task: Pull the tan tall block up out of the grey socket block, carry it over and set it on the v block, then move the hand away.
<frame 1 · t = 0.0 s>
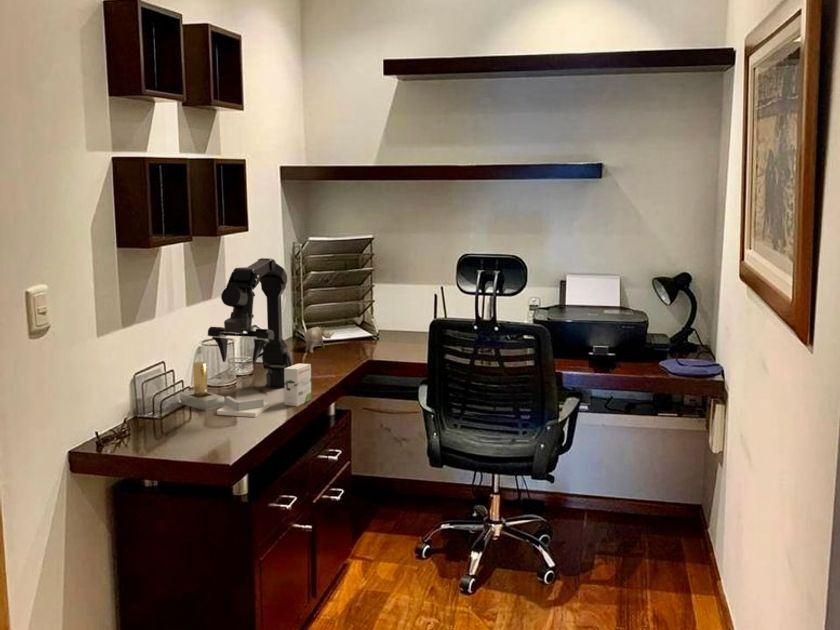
hand: (238, 362, 247), 15 cm above the table, tool pointing down, fingers open, 9 cm apart
elephant figurine: (316, 349, 347), on the table
v block: (243, 410, 252), on the table
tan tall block: (200, 384, 257), in the grey socket block
ink box: (298, 403, 262), on the table
grey socket block: (201, 404, 258), on the table
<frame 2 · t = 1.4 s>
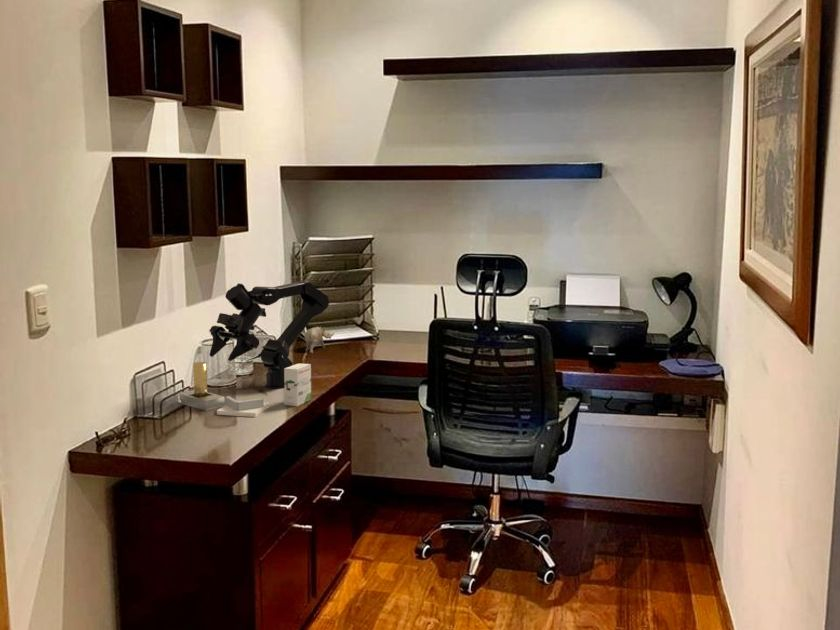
hand: (219, 358, 262), 13 cm above the table, tool tilted 45°, fingers open, 9 cm apart
nothing on the table moved.
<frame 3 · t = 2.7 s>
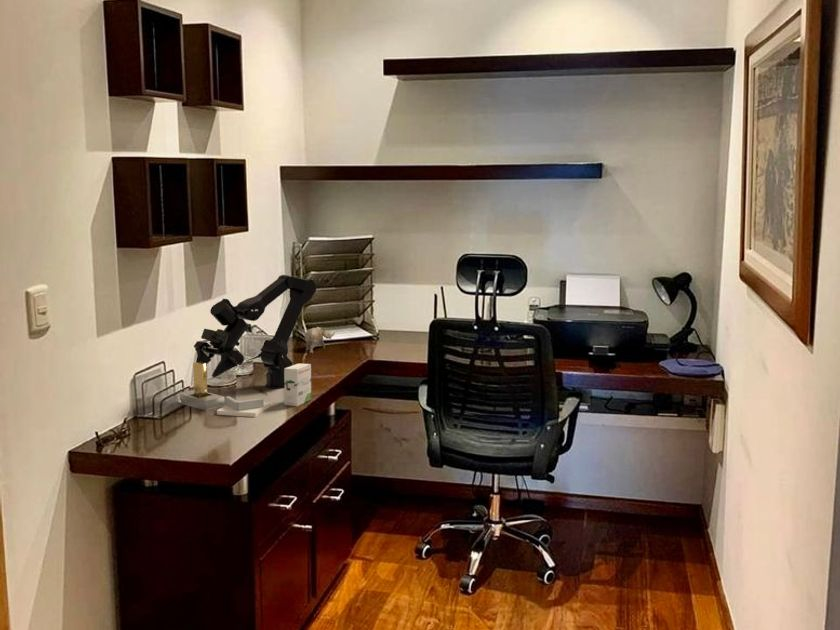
hand: (203, 374, 258), 9 cm above the table, tool tilted 45°, fingers open, 9 cm apart
nothing on the table moved.
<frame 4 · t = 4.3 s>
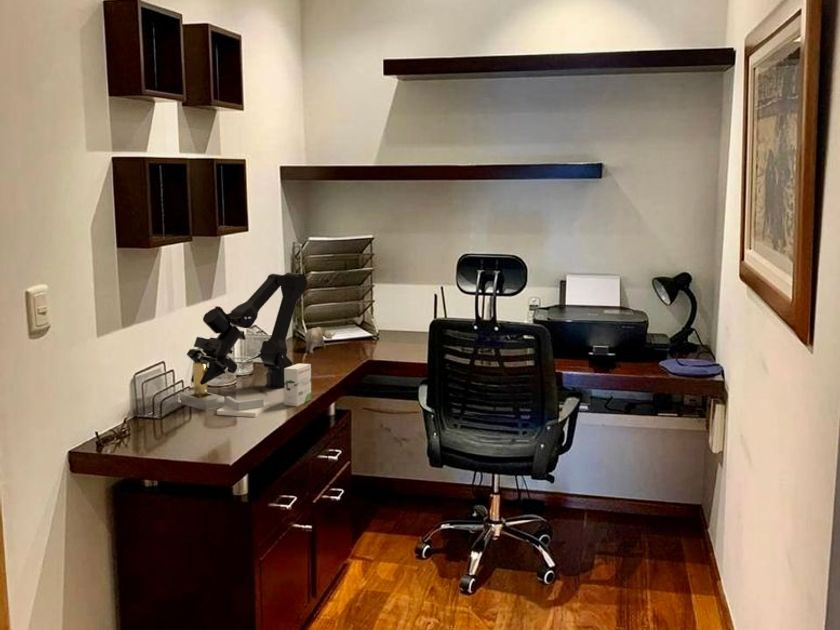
hand: (196, 382, 256), 7 cm above the table, tool tilted 45°, fingers closed on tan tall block, 4 cm apart
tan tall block: (200, 383, 257), in the grey socket block, touching gripper
everything else where it was.
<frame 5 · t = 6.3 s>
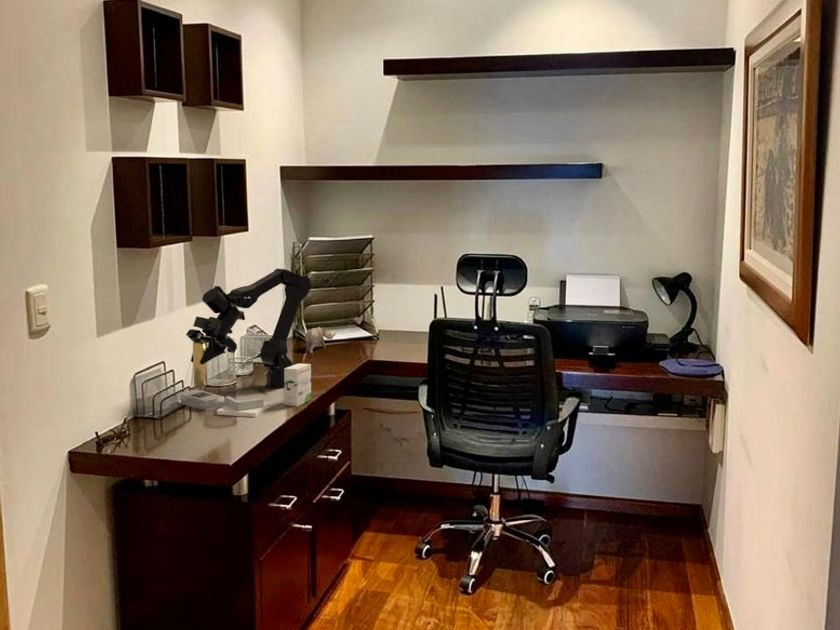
hand: (196, 362, 255), 13 cm above the table, tool tilted 45°, fingers closed on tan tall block, 4 cm apart
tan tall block: (200, 363, 256), point 13 cm above the table, touching gripper
when the fingers open (10 cm above the table, at t = 8.8 s): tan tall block drops 1 cm, resting on v block.
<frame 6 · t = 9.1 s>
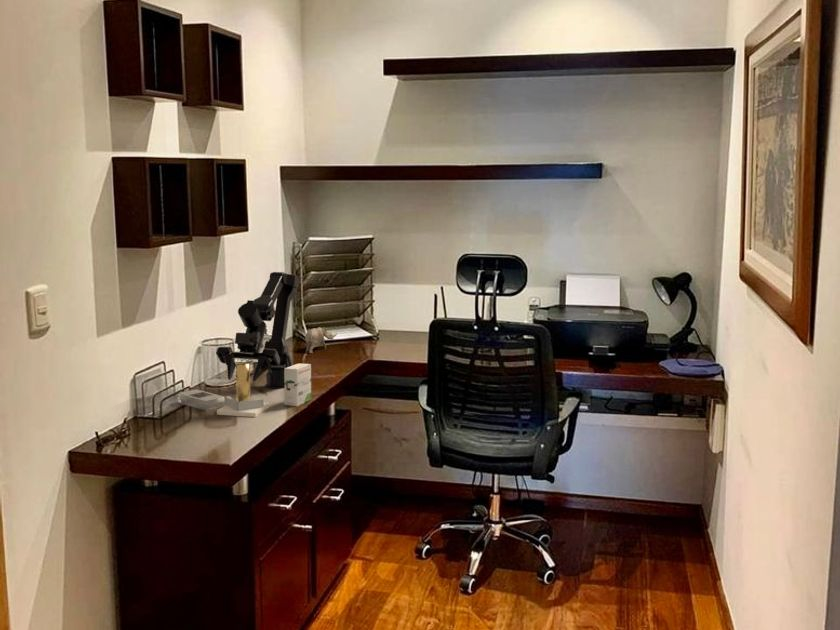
hand: (241, 379, 250), 10 cm above the table, tool tilted 45°, fingers open, 7 cm apart
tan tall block: (243, 385, 251), point 8 cm above the table, touching v block
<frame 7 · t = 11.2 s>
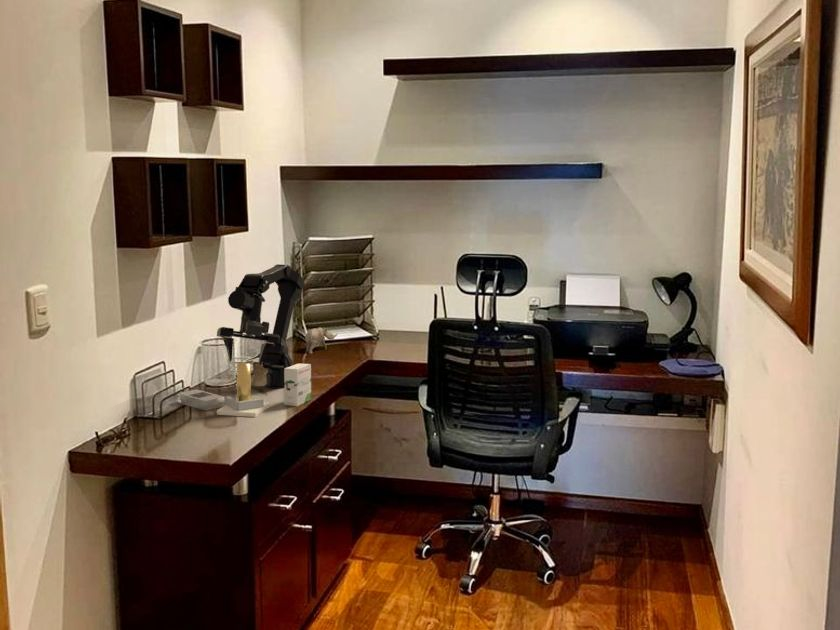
hand: (245, 363, 260), 12 cm above the table, tool tilted 15°, fingers open, 9 cm apart
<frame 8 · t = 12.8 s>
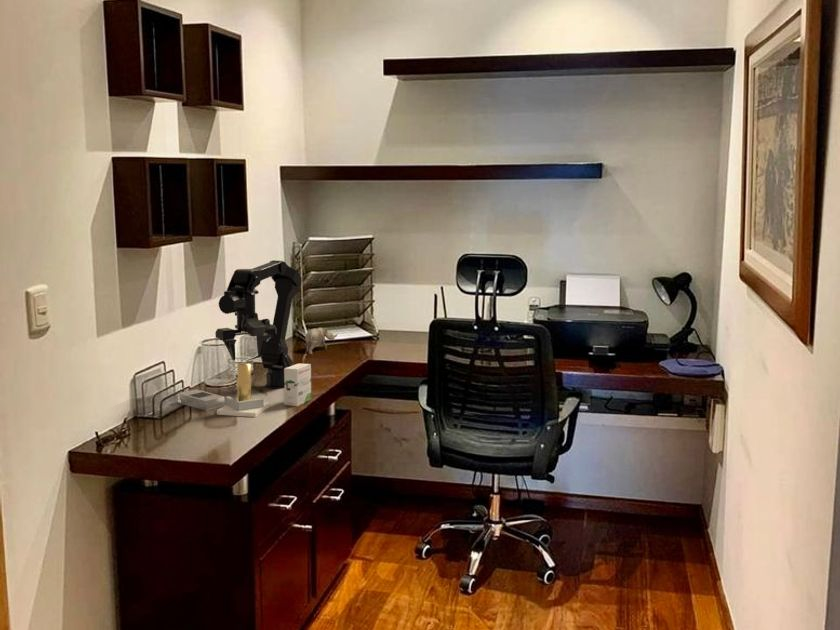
hand: (246, 358, 264), 13 cm above the table, tool pointing down, fingers open, 9 cm apart
at the end: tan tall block 0.2 cm off-centre on the v block, point 7.8 cm above the v block's base; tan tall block tilted 2°; the gripper is holding nothing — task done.
